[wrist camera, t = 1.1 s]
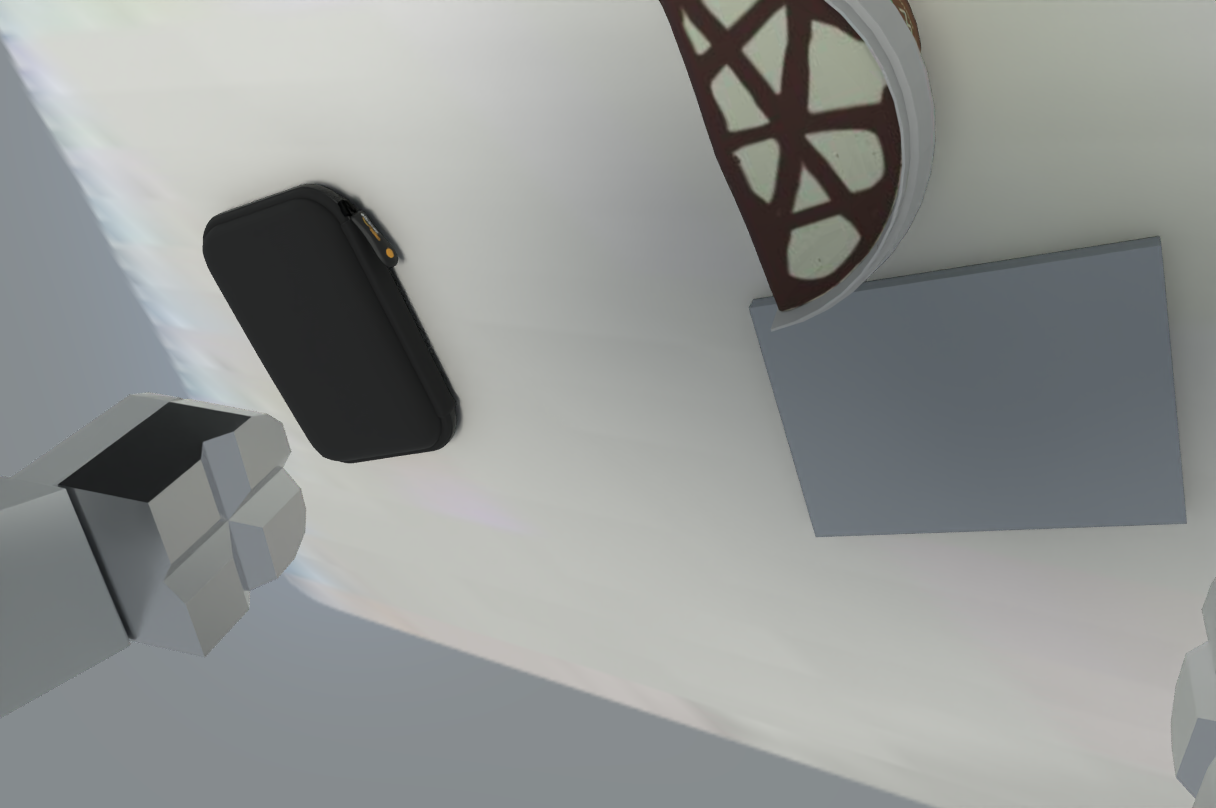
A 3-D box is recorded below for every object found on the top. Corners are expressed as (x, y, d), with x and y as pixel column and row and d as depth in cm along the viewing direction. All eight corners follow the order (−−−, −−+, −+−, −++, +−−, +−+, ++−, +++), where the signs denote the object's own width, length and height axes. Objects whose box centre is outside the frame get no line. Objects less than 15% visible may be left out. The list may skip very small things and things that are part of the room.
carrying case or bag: (498, 425, 51) (367, 157, 45) (471, 458, 49) (329, 180, 43) (347, 449, 56) (212, 212, 51) (316, 480, 54) (170, 235, 48)
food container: (997, 179, 36) (980, 301, 28) (833, 225, 39) (777, 346, 31) (899, -184, 31) (845, -159, 23) (721, -99, 34) (621, -52, 26)
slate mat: (1159, 236, 35) (1161, 245, 34) (1184, 511, 40) (1186, 523, 39) (753, 299, 42) (748, 307, 41) (819, 526, 47) (815, 537, 46)
